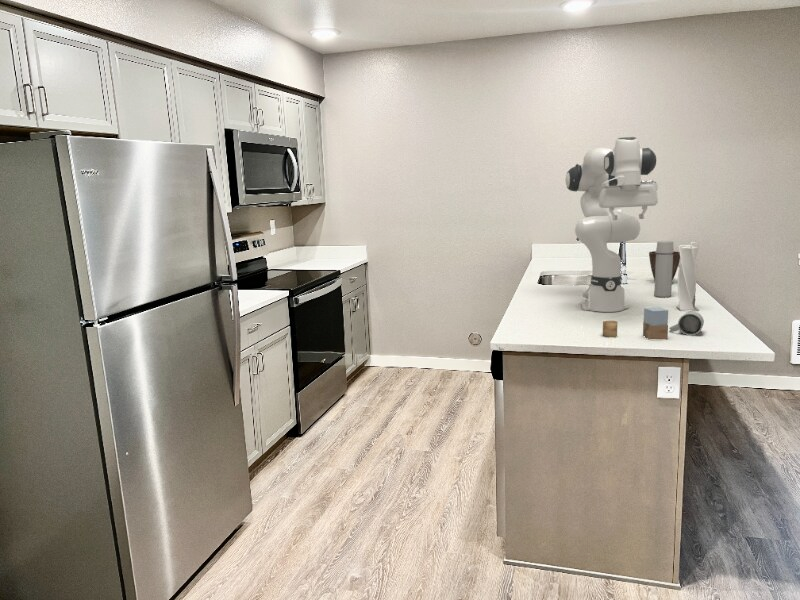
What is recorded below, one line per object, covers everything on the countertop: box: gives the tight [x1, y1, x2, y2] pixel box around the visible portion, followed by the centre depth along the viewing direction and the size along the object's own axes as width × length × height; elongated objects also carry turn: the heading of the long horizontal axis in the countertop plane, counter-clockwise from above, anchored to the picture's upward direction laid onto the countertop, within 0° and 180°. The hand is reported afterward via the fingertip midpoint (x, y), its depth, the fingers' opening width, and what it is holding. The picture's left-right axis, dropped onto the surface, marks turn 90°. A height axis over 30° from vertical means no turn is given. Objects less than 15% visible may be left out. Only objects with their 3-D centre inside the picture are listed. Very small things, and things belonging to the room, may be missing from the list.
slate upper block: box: [643, 306, 669, 326], centre depth 203 cm, size 6×6×5 cm
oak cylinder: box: [602, 319, 619, 338], centre depth 208 cm, size 5×5×5 cm
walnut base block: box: [642, 321, 669, 340], centre depth 204 cm, size 6×6×5 cm
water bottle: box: [653, 240, 675, 299], centre depth 271 cm, size 9×8×25 cm
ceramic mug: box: [669, 311, 705, 336], centre depth 208 cm, size 11×8×8 cm
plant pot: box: [648, 250, 681, 282], centre depth 304 cm, size 15×15×16 cm
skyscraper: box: [676, 241, 700, 311], centre depth 242 cm, size 8×8×28 cm
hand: (628, 219), depth 220 cm, fingers open, 8 cm apart
